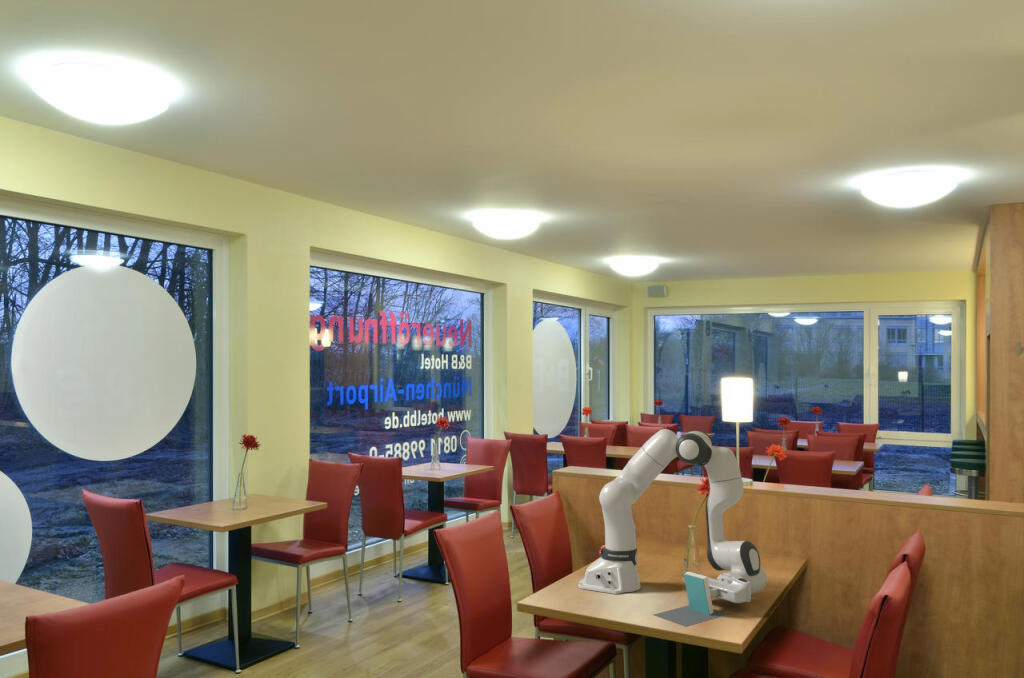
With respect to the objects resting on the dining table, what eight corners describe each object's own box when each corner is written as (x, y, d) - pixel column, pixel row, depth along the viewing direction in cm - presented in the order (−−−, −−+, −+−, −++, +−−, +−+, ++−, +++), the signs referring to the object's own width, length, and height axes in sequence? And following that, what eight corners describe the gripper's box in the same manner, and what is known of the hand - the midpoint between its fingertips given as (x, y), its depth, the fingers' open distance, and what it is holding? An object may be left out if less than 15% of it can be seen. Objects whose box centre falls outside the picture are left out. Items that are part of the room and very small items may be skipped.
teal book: (694, 606, 249) (688, 571, 248) (713, 612, 243) (707, 576, 242) (689, 609, 248) (683, 573, 247) (709, 615, 241) (702, 579, 240)
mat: (695, 605, 254) (695, 603, 254) (729, 616, 242) (729, 614, 242) (652, 616, 242) (652, 614, 242) (685, 628, 231) (685, 626, 231)
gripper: (705, 569, 262) (677, 576, 254) (754, 583, 245) (726, 590, 237) (705, 588, 262) (677, 595, 254) (754, 603, 245) (726, 610, 237)
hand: (701, 593), depth 246 cm, fingers closed
